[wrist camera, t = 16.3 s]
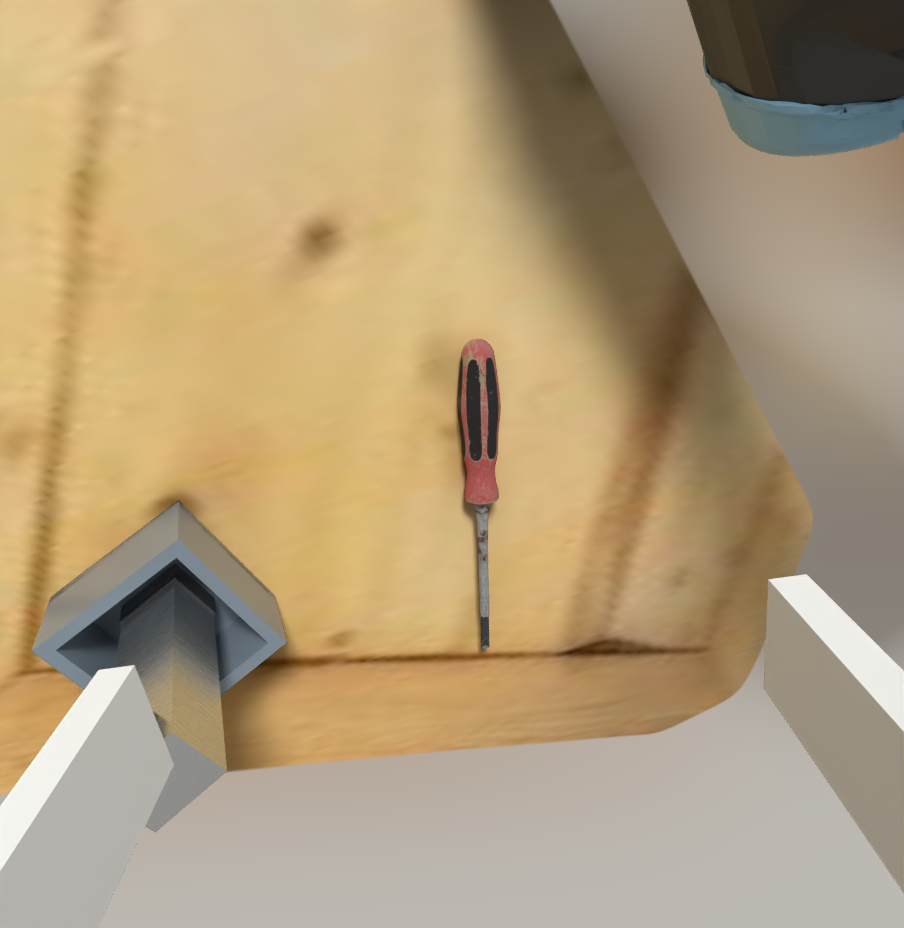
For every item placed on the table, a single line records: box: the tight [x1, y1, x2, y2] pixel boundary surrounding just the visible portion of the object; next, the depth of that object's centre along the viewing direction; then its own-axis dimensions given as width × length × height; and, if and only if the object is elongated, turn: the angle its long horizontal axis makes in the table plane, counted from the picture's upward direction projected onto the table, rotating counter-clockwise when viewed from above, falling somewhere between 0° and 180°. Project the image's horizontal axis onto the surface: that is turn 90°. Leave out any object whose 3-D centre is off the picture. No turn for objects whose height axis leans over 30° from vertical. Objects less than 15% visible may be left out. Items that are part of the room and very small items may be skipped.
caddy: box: [32, 500, 287, 695], centre depth 41 cm, size 10×10×6 cm
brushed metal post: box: [115, 564, 227, 832], centre depth 35 cm, size 4×4×16 cm
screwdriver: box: [458, 339, 501, 649], centre depth 48 cm, size 25×3×3 cm, turn 3°
